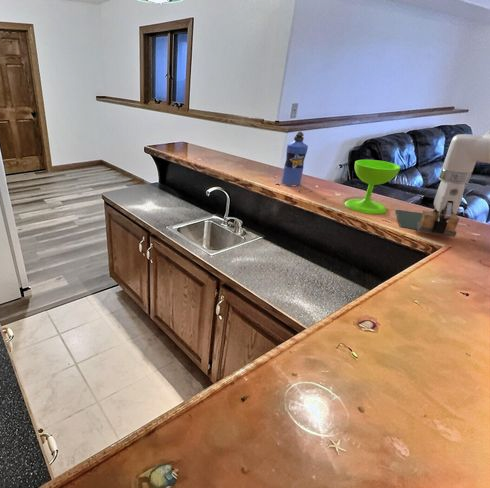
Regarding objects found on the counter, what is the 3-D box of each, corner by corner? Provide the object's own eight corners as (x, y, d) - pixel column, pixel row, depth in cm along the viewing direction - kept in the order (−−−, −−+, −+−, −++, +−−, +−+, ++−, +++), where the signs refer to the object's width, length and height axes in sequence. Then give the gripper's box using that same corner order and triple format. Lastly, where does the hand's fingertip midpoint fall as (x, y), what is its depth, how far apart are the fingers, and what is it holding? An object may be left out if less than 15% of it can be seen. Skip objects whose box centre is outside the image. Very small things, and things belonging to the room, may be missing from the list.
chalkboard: (436, 217, 137) (437, 215, 136) (447, 237, 120) (448, 234, 120) (395, 211, 142) (395, 209, 142) (400, 229, 126) (401, 226, 125)
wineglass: (375, 217, 136) (389, 171, 128) (336, 205, 148) (347, 162, 140) (393, 208, 145) (408, 165, 137) (356, 198, 156) (367, 158, 148)
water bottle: (278, 180, 180) (287, 130, 168) (297, 181, 179) (306, 130, 168) (283, 186, 171) (292, 133, 160) (302, 186, 171) (313, 134, 160)
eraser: (451, 230, 117) (457, 214, 115) (455, 236, 113) (461, 219, 110) (416, 225, 121) (421, 209, 119) (418, 231, 117) (424, 214, 114)
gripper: (477, 184, 100) (455, 241, 108) (462, 171, 114) (444, 222, 122) (445, 181, 103) (426, 236, 111) (435, 168, 117) (418, 218, 125)
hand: (435, 228), depth 117 cm, fingers closed on eraser, 5 cm apart
